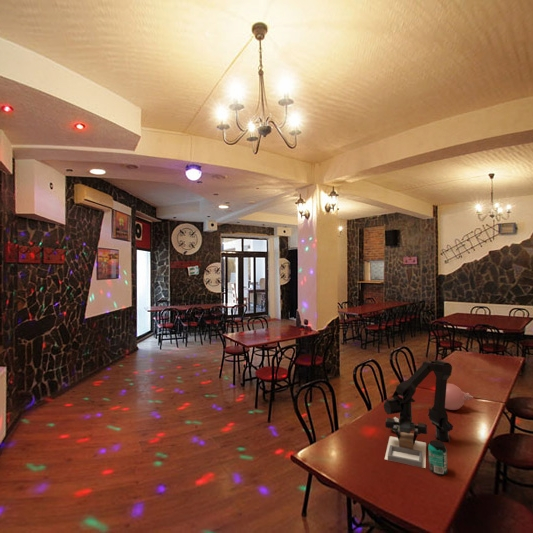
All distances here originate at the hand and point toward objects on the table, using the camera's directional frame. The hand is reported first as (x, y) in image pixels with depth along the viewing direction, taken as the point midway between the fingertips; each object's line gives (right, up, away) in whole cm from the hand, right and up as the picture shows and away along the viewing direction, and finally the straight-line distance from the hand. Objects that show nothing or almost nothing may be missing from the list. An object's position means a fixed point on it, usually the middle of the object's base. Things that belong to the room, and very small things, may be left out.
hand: (406, 443), depth 162 cm
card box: (0, -1, 0) cm, 1 cm away
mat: (-2, -2, -5) cm, 6 cm away
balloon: (+47, -1, +39) cm, 61 cm away
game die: (+1, -2, +14) cm, 14 cm away
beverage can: (+5, -1, -21) cm, 22 cm away
